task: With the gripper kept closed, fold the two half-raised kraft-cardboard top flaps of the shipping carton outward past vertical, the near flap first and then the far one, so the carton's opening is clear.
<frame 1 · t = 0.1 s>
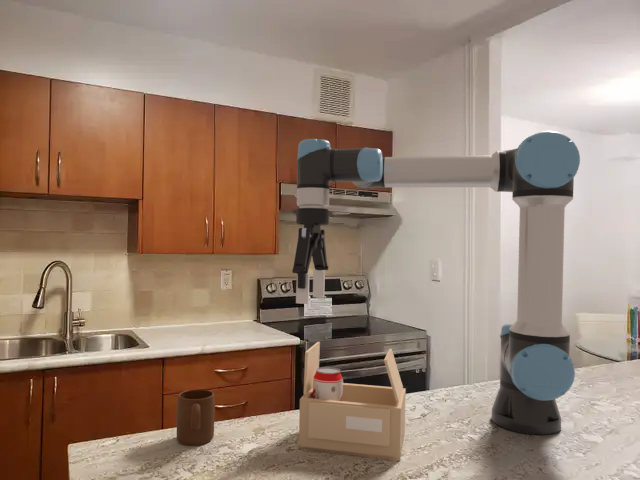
hand: (310, 300, 118), 28 cm above the countertop, fingers open, 13 cm apart
beer can: (325, 447, 107), resting in carton
flap far: (312, 366, 109), point 15 cm above the countertop, hinge at 88.9°
carton: (353, 441, 107), on the countertop
mug: (195, 444, 105), on the countertop
flap near: (393, 374, 106), point 15 cm above the countertop, hinge at 72.0°
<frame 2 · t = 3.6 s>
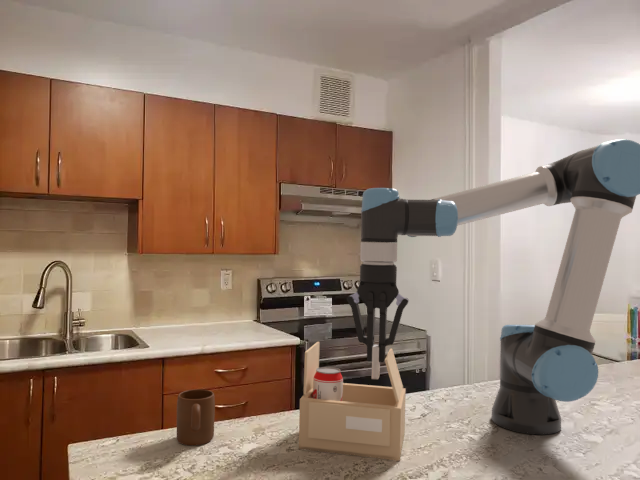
hand: (375, 377, 106), 14 cm above the countertop, fingers closed
flap far: (311, 366, 109), point 15 cm above the countertop, hinge at 89.4°
flap near: (394, 374, 105), point 15 cm above the countertop, hinge at 72.9°, touching gripper
everything else where it was.
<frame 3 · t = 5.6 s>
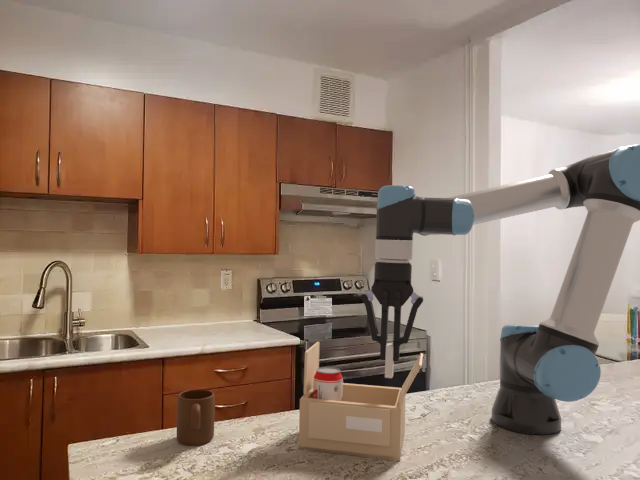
hand: (389, 376, 106), 14 cm above the countertop, fingers closed
flap near: (411, 376, 105), point 14 cm above the countertop, hinge at 117.0°
everything else where it was.
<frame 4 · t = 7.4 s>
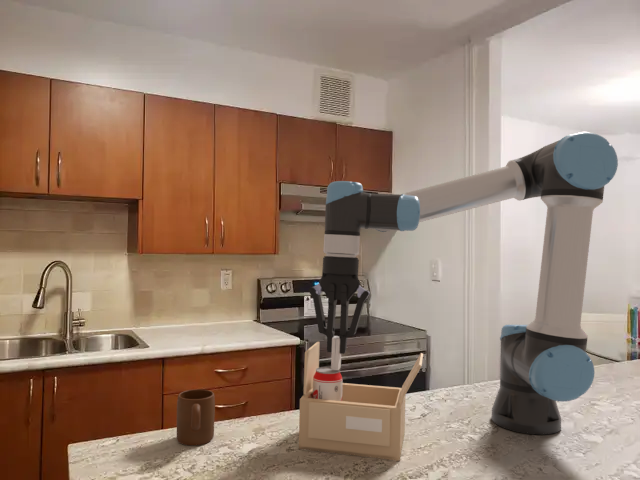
hand: (335, 368, 108), 15 cm above the countertop, fingers closed
beer can: (326, 447, 107), resting in carton, touching gripper
everything else where it was.
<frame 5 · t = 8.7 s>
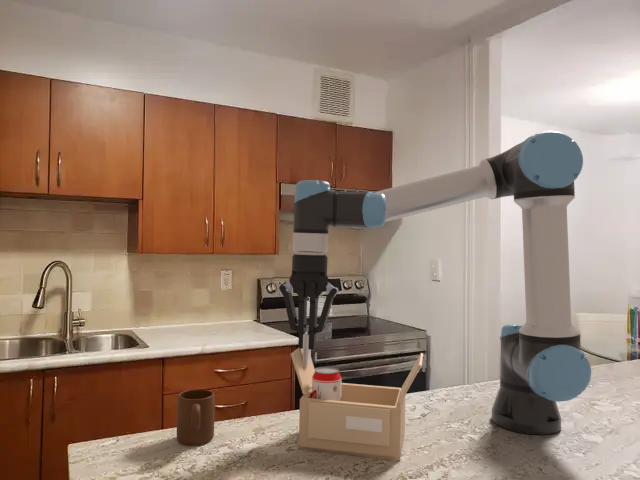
hand: (306, 364, 110), 15 cm above the countertop, fingers closed
beer can: (326, 447, 107), resting in carton
flap far: (304, 367, 110), point 15 cm above the countertop, hinge at 109.4°, touching gripper
everything else where it was.
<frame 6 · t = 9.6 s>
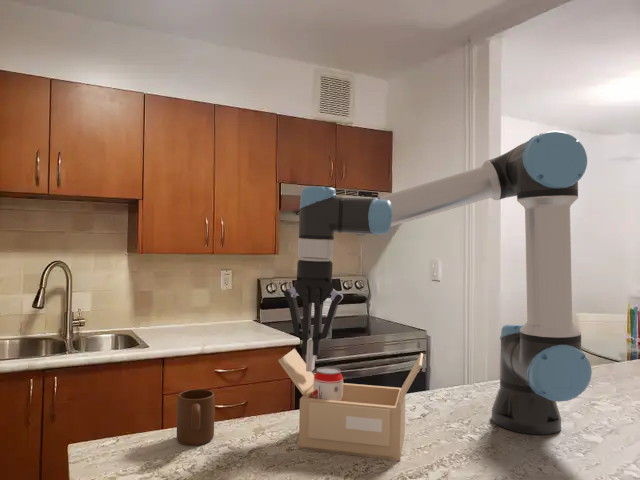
hand: (310, 369, 110), 14 cm above the countertop, fingers closed
flap far: (298, 370, 110), point 14 cm above the countertop, hinge at 129.4°
everything else where it was.
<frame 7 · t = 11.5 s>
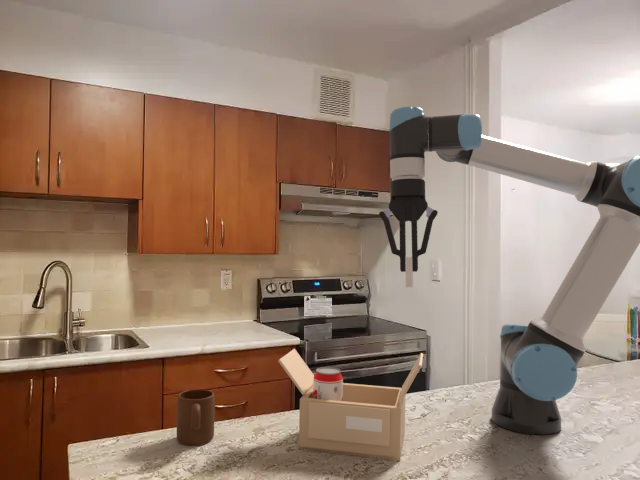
hand: (409, 286, 113), 32 cm above the countertop, fingers closed
nothing on the countertop moved.
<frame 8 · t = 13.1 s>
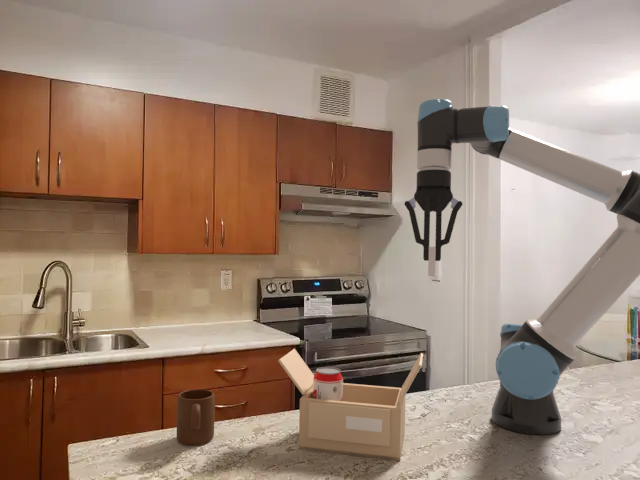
hand: (431, 275, 116), 34 cm above the countertop, fingers closed
nothing on the countertop moved.
at the end: flap near at +117° (first picture: +72°); flap far at +130° (first picture: +88°) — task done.
